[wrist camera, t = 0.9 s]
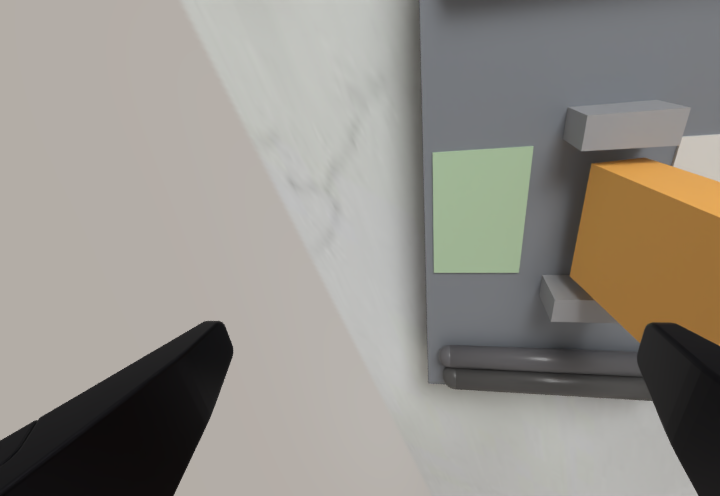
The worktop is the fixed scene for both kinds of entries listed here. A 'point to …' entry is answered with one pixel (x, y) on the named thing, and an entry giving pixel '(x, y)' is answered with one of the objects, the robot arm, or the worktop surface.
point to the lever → (651, 246)
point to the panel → (547, 174)
